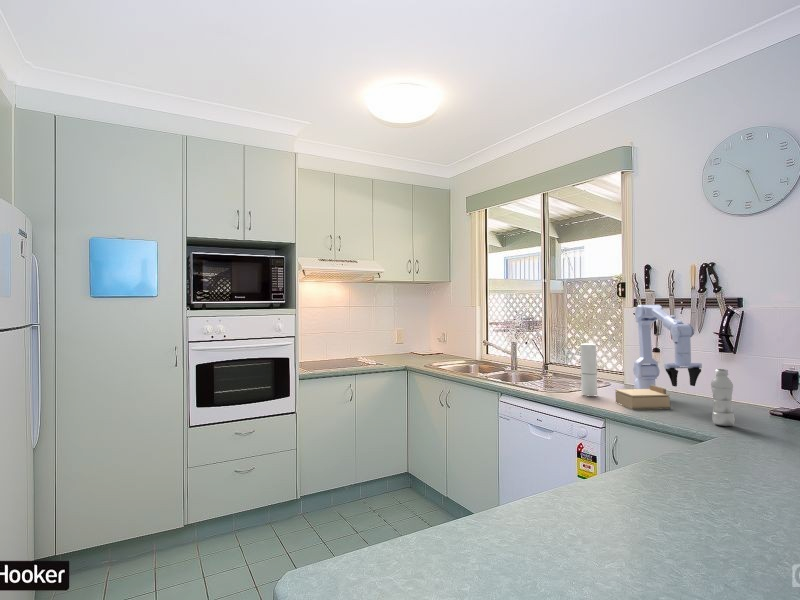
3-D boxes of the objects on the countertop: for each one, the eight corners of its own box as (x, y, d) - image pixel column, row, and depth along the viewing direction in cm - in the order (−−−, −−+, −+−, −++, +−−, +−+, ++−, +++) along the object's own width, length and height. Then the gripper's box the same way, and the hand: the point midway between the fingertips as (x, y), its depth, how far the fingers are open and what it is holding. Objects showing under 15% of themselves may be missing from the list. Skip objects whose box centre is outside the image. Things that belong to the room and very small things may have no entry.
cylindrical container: (594, 394, 226) (593, 343, 226) (599, 396, 219) (598, 344, 219) (579, 394, 226) (578, 343, 227) (584, 396, 219) (582, 344, 220)
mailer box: (615, 402, 205) (615, 391, 205) (650, 401, 205) (650, 390, 205) (632, 409, 191) (631, 397, 191) (669, 408, 191) (669, 396, 191)
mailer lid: (615, 390, 205) (615, 385, 205) (650, 390, 205) (650, 384, 205) (631, 396, 191) (631, 390, 191) (669, 396, 191) (669, 389, 191)
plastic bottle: (738, 428, 159) (736, 371, 160) (717, 427, 161) (715, 370, 161) (729, 423, 166) (727, 368, 166) (708, 423, 167) (707, 368, 167)
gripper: (671, 354, 184) (672, 387, 184) (706, 353, 184) (707, 387, 184) (661, 352, 191) (661, 384, 191) (694, 351, 192) (695, 384, 191)
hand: (683, 385), depth 188 cm, fingers open, 7 cm apart
